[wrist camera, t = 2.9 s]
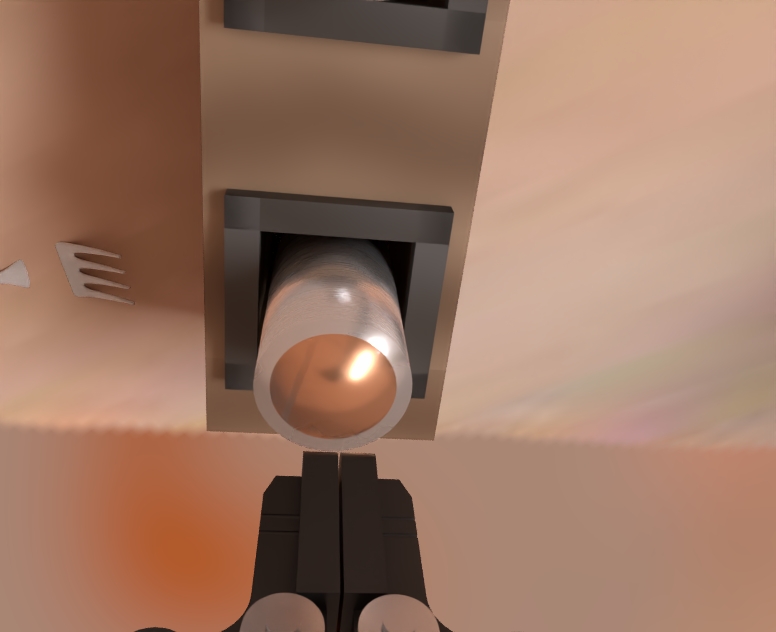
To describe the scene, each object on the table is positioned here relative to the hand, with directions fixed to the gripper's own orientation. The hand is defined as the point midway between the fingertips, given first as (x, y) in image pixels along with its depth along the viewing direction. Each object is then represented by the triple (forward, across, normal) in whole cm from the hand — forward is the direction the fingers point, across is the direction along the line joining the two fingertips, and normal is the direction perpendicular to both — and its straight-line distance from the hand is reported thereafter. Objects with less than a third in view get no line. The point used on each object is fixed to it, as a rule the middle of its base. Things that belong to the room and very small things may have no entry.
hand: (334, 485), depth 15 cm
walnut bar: (+17, 0, -6) cm, 18 cm away
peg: (+12, 0, 0) cm, 12 cm away
